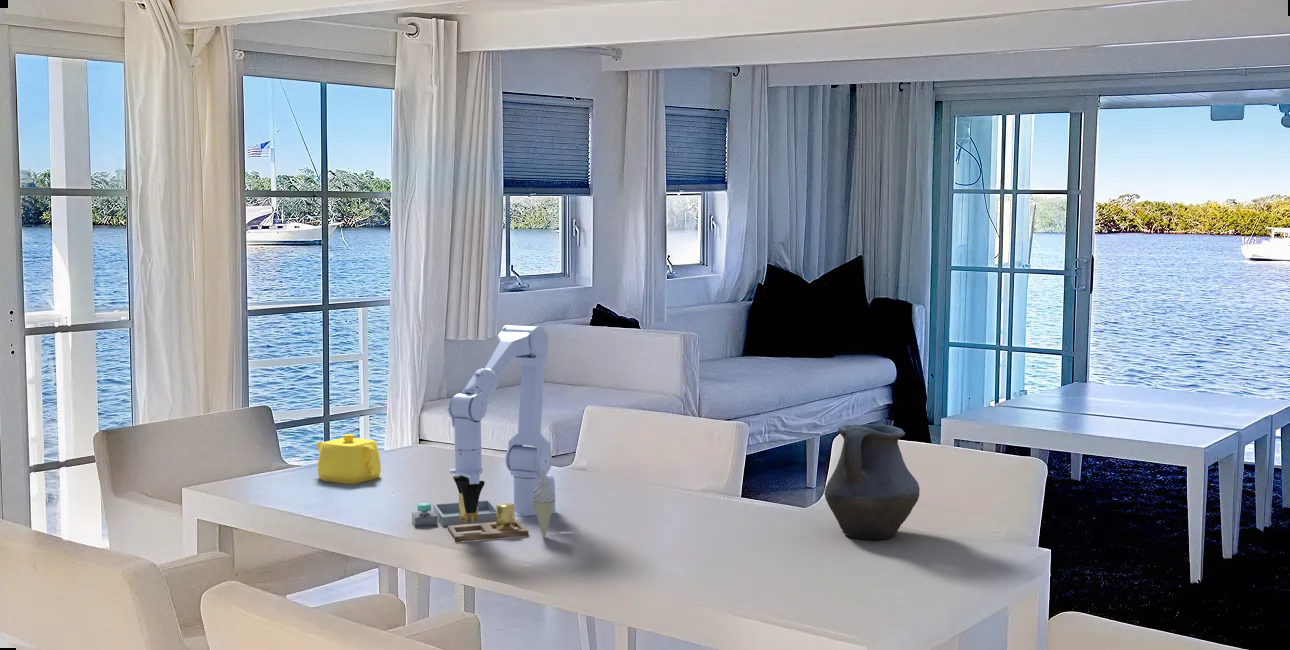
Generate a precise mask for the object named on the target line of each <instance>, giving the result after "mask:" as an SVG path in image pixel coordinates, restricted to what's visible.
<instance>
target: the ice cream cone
mask: <svg viewBox="0 0 1290 650" xmlns="http://www.w3.org/2000/svg"><path fill="white" fill-rule="evenodd" d="M549 483H550V481H549V480H548V478H547V476H546V474H545V471H544V469H543V471H542V474H541V476H540V479H539V480H538V485H537V487H536V488H535V490H534V491H533V492H532V493H533V497H532V499H533V500H532V502H533V504H534V507H535V511H536V514H537V515H536V518H537V521H538V525H539V528H540V531H541V533H542V538H546V537H547V531H548V528H549V523H550V520H551V518H552V514H553V513H552V509H553V505H554V502H555V503H556V490H555V491H554V489H553V488H552V487H551V486H550V484H549Z"/></svg>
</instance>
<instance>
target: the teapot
mask: <svg viewBox="0 0 1290 650" xmlns="http://www.w3.org/2000/svg"><path fill="white" fill-rule="evenodd" d="M315 445H316V447H317V450H318V452H319V453H318V460H317V461H318V463H317V474H318V477H319V480H321V481H324V482H330V483H335V482H336V483H338V484H345V485H356V484H361V483H364V482H369V481H372V480H376V479H379V478H380V476H381V472H382V471H381V470H382V467H381V458H380V457H381V456H380V452H379V448H378V445H377V441H376V440H373V439H365V438H359V437H355V434H354V433H345V434H342V437H341V438H335V439H331V440H327V441H320V442H316V443H315ZM336 483H335V484H336Z"/></svg>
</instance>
